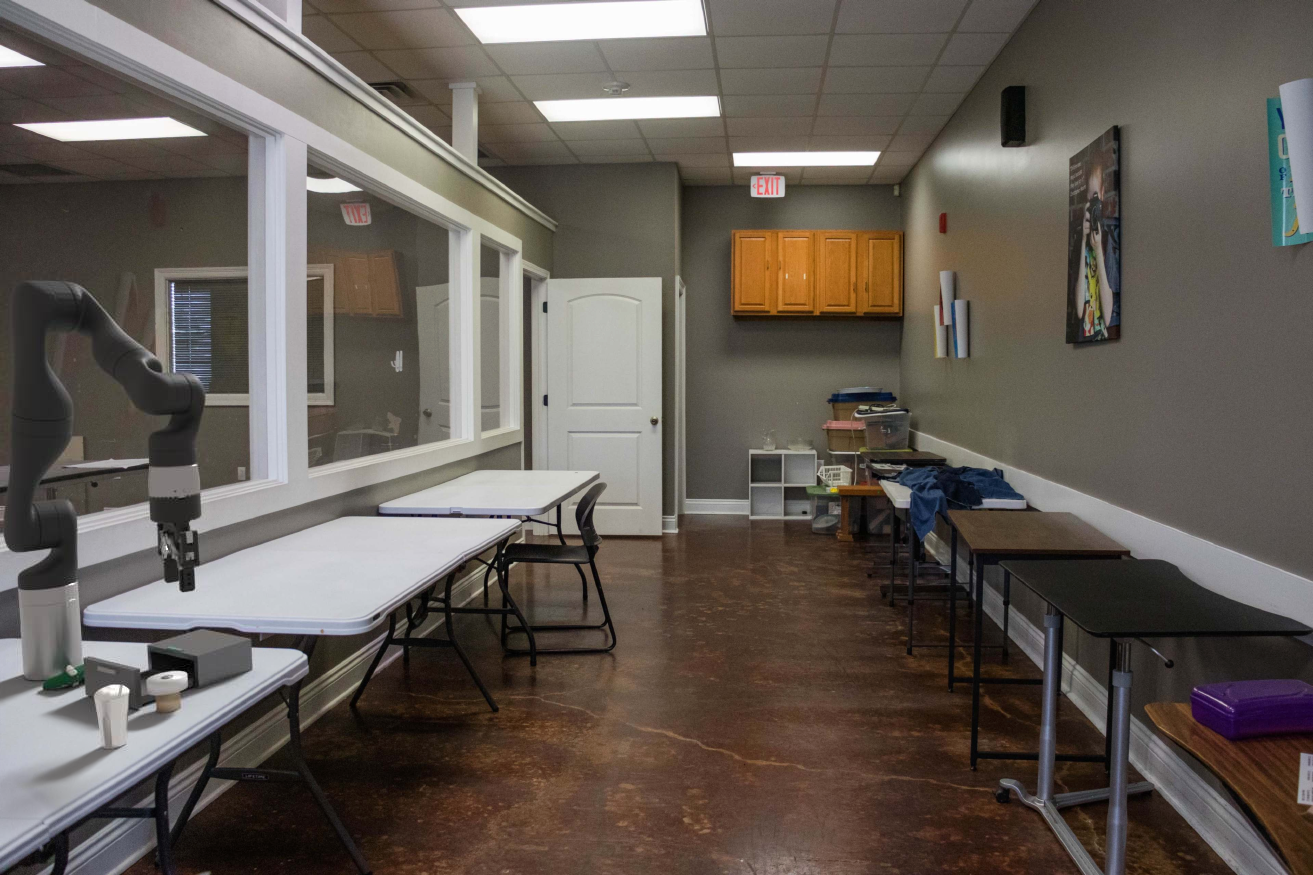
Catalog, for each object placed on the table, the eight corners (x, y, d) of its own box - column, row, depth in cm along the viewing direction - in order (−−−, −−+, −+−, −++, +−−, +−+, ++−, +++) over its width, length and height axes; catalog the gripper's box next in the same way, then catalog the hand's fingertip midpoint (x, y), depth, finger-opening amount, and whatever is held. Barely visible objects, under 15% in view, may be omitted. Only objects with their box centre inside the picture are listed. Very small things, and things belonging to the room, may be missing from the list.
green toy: (51, 701, 152) (70, 680, 151) (38, 686, 152) (56, 665, 151) (95, 683, 161) (113, 663, 160) (82, 668, 161) (100, 648, 160)
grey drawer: (147, 674, 159) (145, 640, 158) (197, 687, 152) (195, 651, 152) (83, 695, 149) (80, 658, 148) (133, 710, 142) (131, 671, 141)
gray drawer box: (203, 658, 169) (201, 627, 168) (252, 669, 162) (251, 637, 162) (148, 675, 159) (147, 643, 159) (199, 688, 152) (197, 654, 152)
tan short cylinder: (151, 710, 142) (150, 690, 142) (172, 703, 146) (171, 683, 145) (165, 714, 141) (163, 694, 140) (185, 706, 144) (184, 686, 144)
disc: (139, 691, 142) (138, 679, 141) (173, 680, 147) (172, 668, 147) (161, 697, 139) (160, 685, 139) (195, 685, 144) (194, 673, 144)
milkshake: (109, 754, 126) (105, 689, 125) (91, 746, 129) (87, 683, 128) (140, 743, 130) (137, 680, 129) (123, 735, 132) (119, 673, 132)
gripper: (137, 489, 144) (142, 583, 145) (162, 498, 133) (167, 599, 135) (186, 485, 149) (190, 575, 150) (213, 493, 139) (217, 590, 140)
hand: (179, 586), depth 142 cm, fingers open, 8 cm apart
